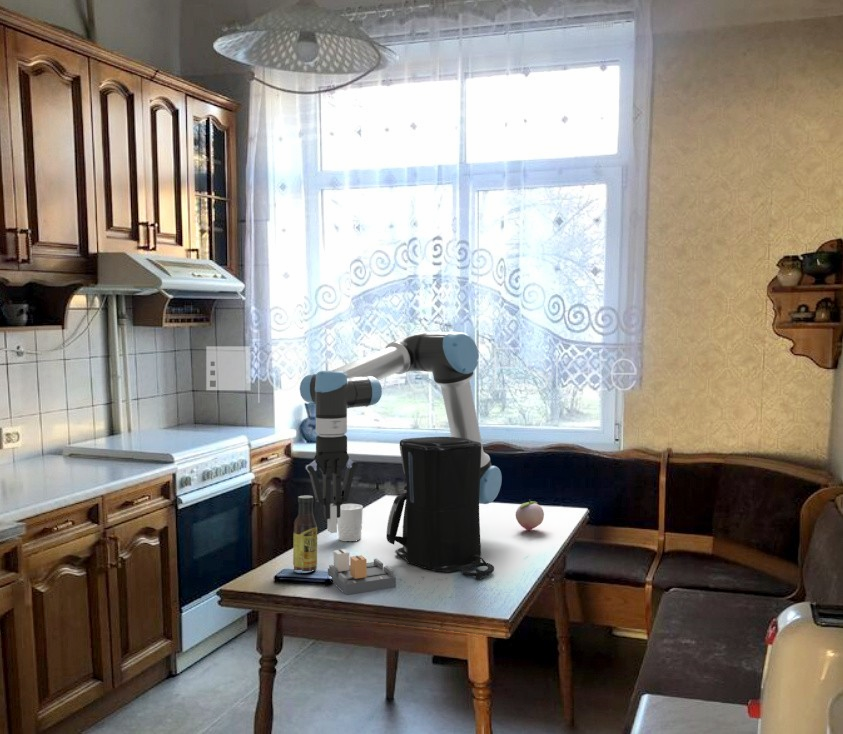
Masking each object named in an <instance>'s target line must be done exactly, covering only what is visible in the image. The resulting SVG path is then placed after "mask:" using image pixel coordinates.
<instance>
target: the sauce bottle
mask: <svg viewBox="0 0 843 734" xmlns="http://www.w3.org/2000/svg"><path fill="white" fill-rule="evenodd" d="M297 503H298V511H297V512H298V514H297V517H296V518H295V520H294V521H293V537H292V538H293V541H292V542H293V548H292V549H293V551H292V552H293V553H292V557H293V559H292V561H293V562H292V565H293V571H294V570H302V571H312V570H316V571H317V568H318V525H317V522H316V520H315V516H314V509H313V505H314V504H313V503H314V496H313V495H309V494H307V495H306V494H305V495H300V496H297Z"/></svg>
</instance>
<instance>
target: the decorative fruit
mask: <svg viewBox="0 0 843 734" xmlns="http://www.w3.org/2000/svg"><path fill="white" fill-rule="evenodd" d="M544 517H545V512H544V509H543V508H542V505H540V504H539V503H538V502H537V501H535V500H534V501H532V500H531V499H530V498H529V499H528V502H523V503H521V504H520V505H519V506H518V507H517V509H516V511H515V519H516V521H517V523H518V524H519V526H520V527H522V528H523V529H524V530H526V531H529V532H530V531H532V530H533V529H535V528H537V527H538V526H540V525H541V524H542V523H543V521H544Z"/></svg>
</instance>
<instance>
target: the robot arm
mask: <svg viewBox="0 0 843 734" xmlns="http://www.w3.org/2000/svg"><path fill="white" fill-rule="evenodd" d="M478 360H479V350H478V346H477V344H476V341H475V340H474V339H473V338H472V337H471V335H469V334H468V333H465V332H458V331H422V332H417V333H416V332H415V333H413V334H410V335H407V336H405V337H401V338H399V339H396V340H394V341H392V342H389V343H388V344H387V345H386V346H385V347H384V349H382V350H379V351H377V352H374V353H372V354H370V355H367V356H364V357H362V358H359V359H356V360H354V361H352V362H350V363H346V364H345V365H342V366H340V367H337V368H334V369H333V370H320V371H318V372H316V373H314V374H307V375H305V376H304V377H303V378H302V379H301V382H300V385H299V393H300V397H301V398H302V400H304V401H305V402H306V403H310V404H314V405H315V433H316V437H315V454H314V457H313V461H311V462H310V463H309V464H305V466H304V468H305V470H306V471H307V473H308V475H309V477H310V483H311V487H312V491H313V495H314V498H315V502H316V503H318V504H320V505H323V518H324V519H326V521H327V523H326V524H327V531H328V532H329V533H330V534H335V533H337V534H338V525H337V518H340V506H341V505H342V504H344V503H345V502H348V501H349V497H350V492H351V487H352V483H353V478H354V473H355V472H356V469H357V468H358V467H359V463H358V462H356V461H354V460H352V459H351V458H350V455H349V454H348V436H347V435H346V434H347V432H348V409H351V408H353V409H354V408H360V407H361V408H362V407H366V408H367V407H371V406H373V405H376V404H378V403H379V402H380V400H381V398H382V394H383V388H382V385H381V382H380V381H381V380H383V379H385V378H388V377H389V376H391V375H394V374H396V375H402V374H404V373H408V372H426V373H427V372H429V373H432V376H433V381H434V383H435V384H437V385H439V386H440V389H441V393H442V397H443V398H442V399H443V402H444V409H445V413H446V418H447V421H448V422H447V424H448V426H449V427H448V428H449V431H450V433H449V434H450V437H457V438H464V439H469V440H471V441H476V442H480V443H481V445H482V446H481V470H480V494H479V505H480V504H482V505H489V504H491V503H492V502H493V501H494V500H495V499H496V498H497V497H498V494H499V493H500V490H501V486H502V478H503V476H502V472H501V470H500V468H499V467H498V466H496V465H492V462H491V457H490V455H489V454H488V453H486V452H484V447H483V443H482V437H481V432H480V426H479V421H478V417H477V412H476V411H477V410H476V406H475V401H474V396H473V391H472V386H471V381H470V380H471V379H472V377H473V376H474V371H475V370H476V369H477V366H478V364H479V362H478ZM345 466H346V469H345V473H344V478H343V482H342V471H343V469H344V468H345ZM317 468H319V470H320V471H321V475H322V489H321V485H320V484H321V483H320V481H319V478H318V473H317V470H318V469H317ZM331 479H332V480H331ZM331 483H332V484H331ZM341 483H342V484H341ZM331 485H332V486H331ZM331 493H332V494H331ZM332 502H333V503H332Z"/></svg>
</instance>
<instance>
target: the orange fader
mask: <svg viewBox="0 0 843 734" xmlns="http://www.w3.org/2000/svg"><path fill="white" fill-rule="evenodd" d="M367 563H368V559H367V558H366V557H365V556H363V555H362V554H361V555H354V556H349V565H350V575H351V576H353V577H354V578H355V579H357V578H364V577H367Z"/></svg>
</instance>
